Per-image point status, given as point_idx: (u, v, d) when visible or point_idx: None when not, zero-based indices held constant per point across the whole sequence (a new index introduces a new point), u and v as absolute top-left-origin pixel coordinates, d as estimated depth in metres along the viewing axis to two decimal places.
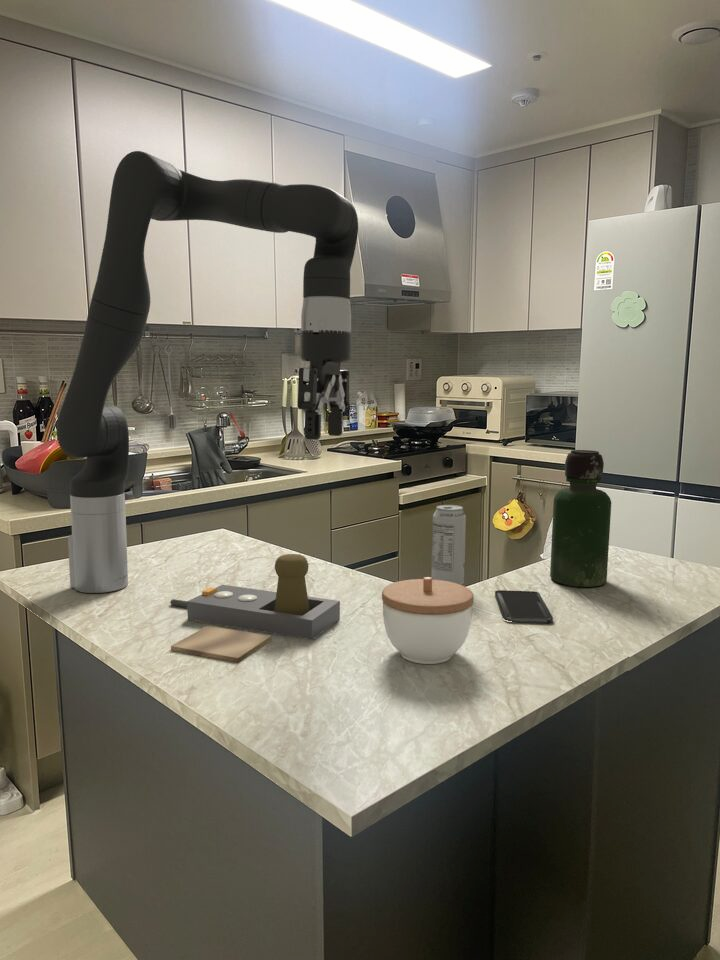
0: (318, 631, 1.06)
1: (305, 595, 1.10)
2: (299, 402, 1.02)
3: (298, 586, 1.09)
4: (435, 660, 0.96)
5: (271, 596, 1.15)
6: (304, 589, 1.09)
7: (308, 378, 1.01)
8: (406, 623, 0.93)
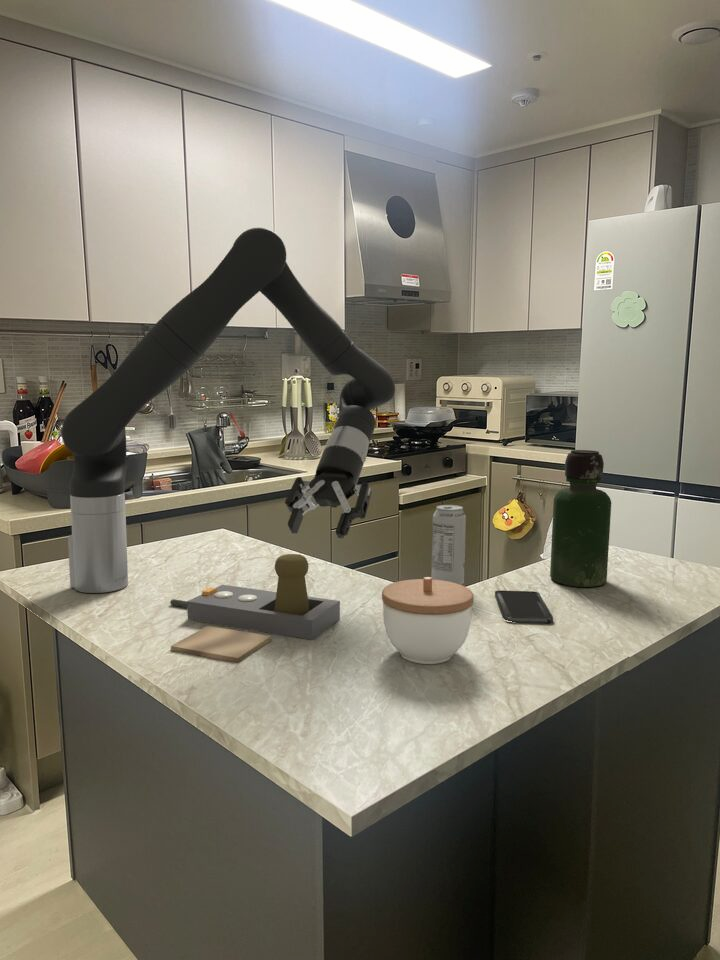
0: (318, 631, 1.06)
1: (305, 595, 1.10)
2: (362, 506, 1.17)
3: (298, 586, 1.09)
4: (435, 660, 0.96)
5: (271, 596, 1.15)
6: (304, 589, 1.09)
7: (369, 494, 1.20)
8: (406, 623, 0.93)
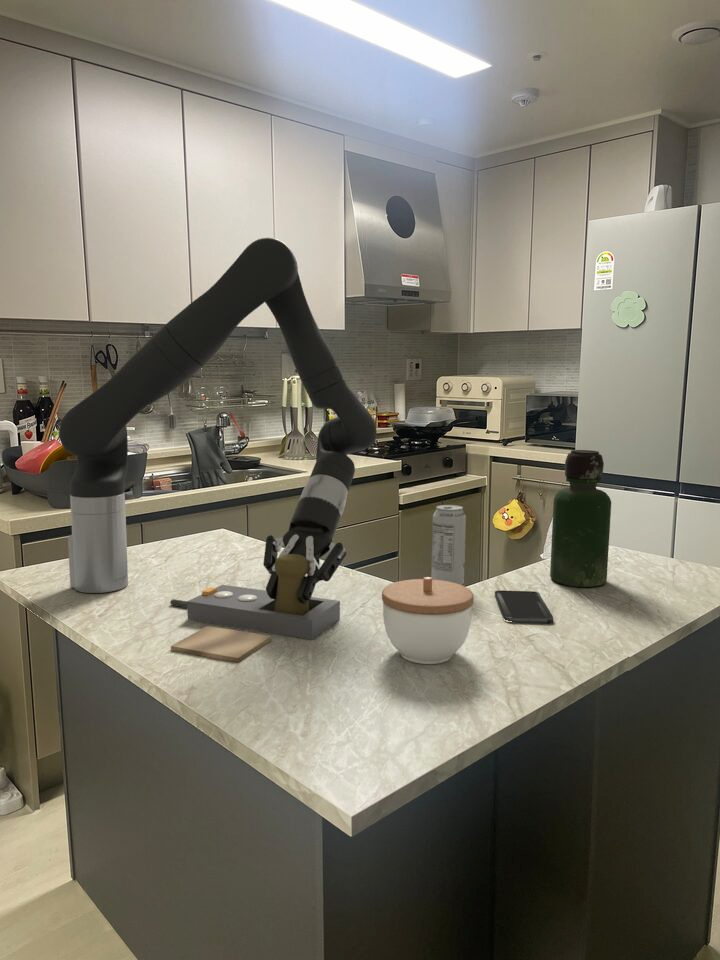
0: (318, 631, 1.06)
1: None
2: (327, 570, 1.09)
3: (298, 586, 1.09)
4: (435, 660, 0.96)
5: None
6: None
7: (341, 557, 1.11)
8: (406, 623, 0.93)
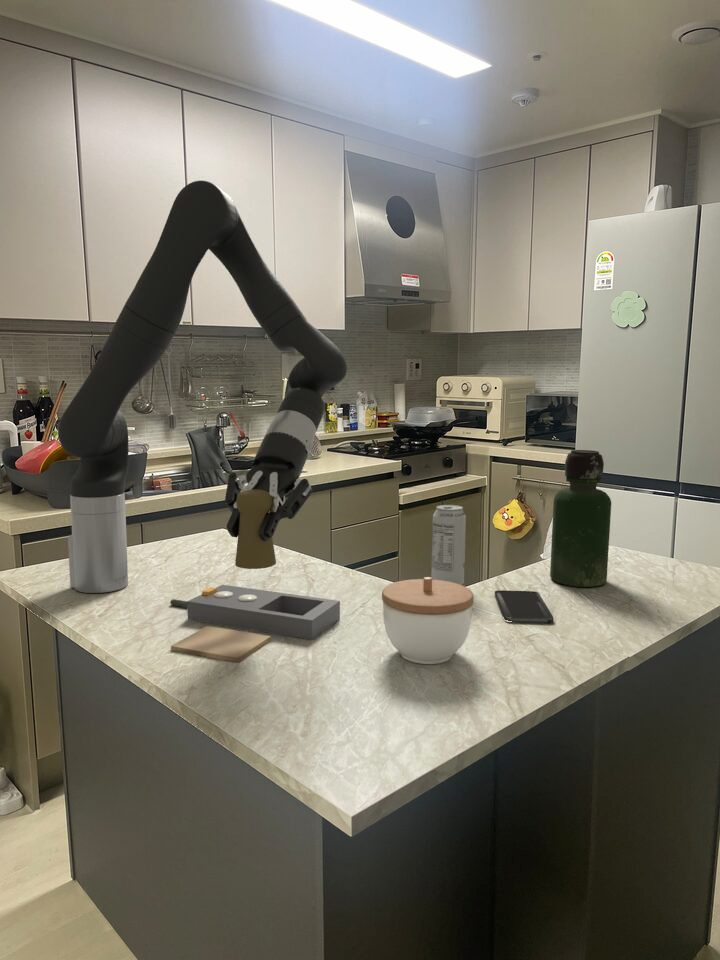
0: (318, 631, 1.06)
1: None
2: (290, 506, 1.03)
3: (261, 522, 1.02)
4: (435, 660, 0.96)
5: (271, 596, 1.15)
6: None
7: (306, 494, 1.05)
8: (406, 623, 0.93)
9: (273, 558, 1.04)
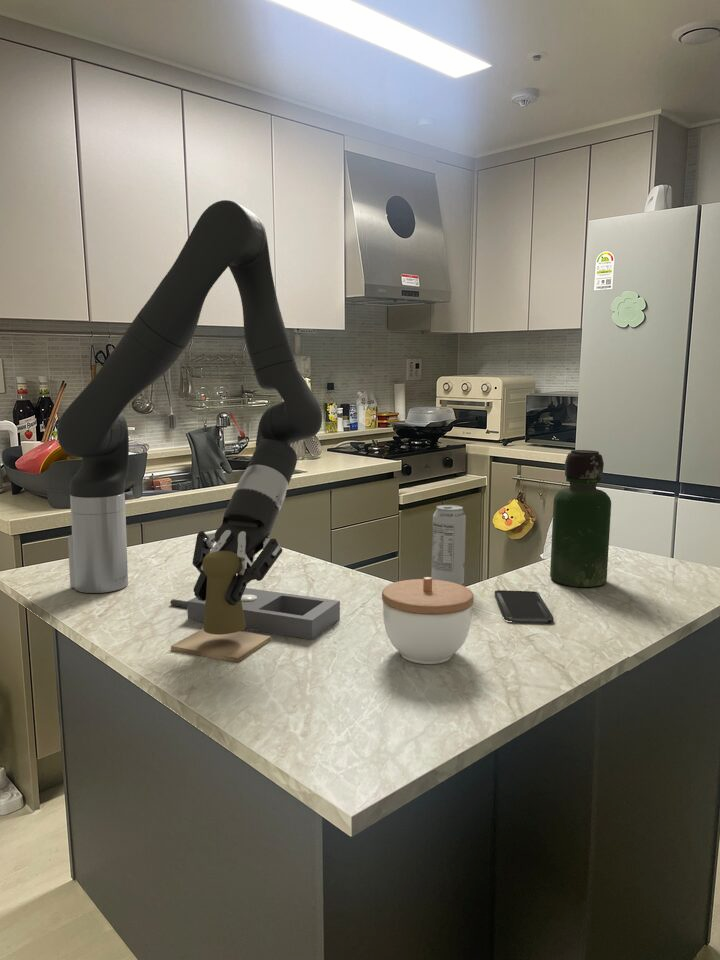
0: (318, 631, 1.06)
1: None
2: (258, 569, 0.99)
3: (228, 586, 0.99)
4: (435, 660, 0.96)
5: (271, 596, 1.15)
6: None
7: (275, 554, 1.02)
8: (406, 623, 0.93)
9: (242, 622, 1.01)
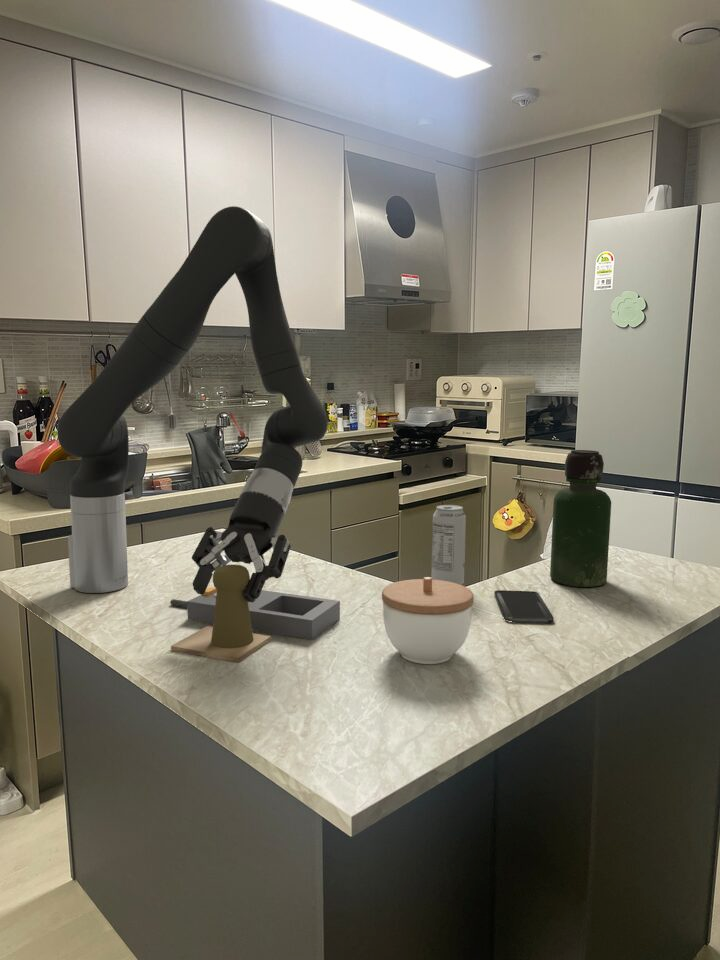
0: (318, 631, 1.06)
1: (246, 609, 1.01)
2: (276, 565, 1.01)
3: (238, 600, 1.00)
4: (435, 660, 0.96)
5: (271, 596, 1.15)
6: (244, 603, 1.00)
7: (286, 549, 1.04)
8: (406, 623, 0.93)
9: (250, 636, 1.01)
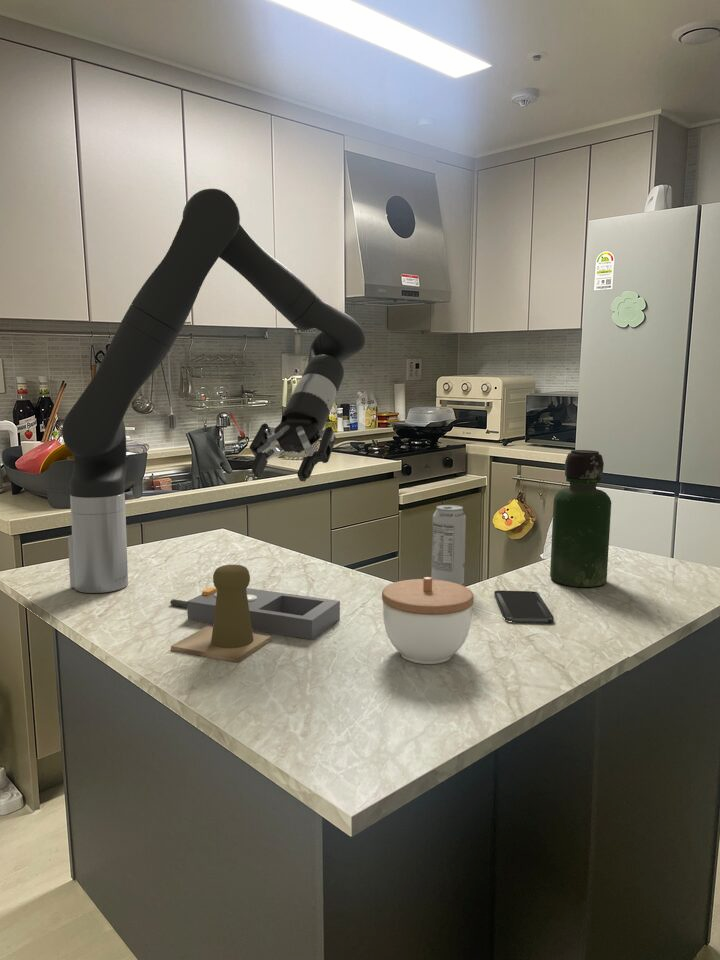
0: (318, 631, 1.06)
1: (246, 610, 1.01)
2: (325, 450, 1.17)
3: (238, 600, 1.00)
4: (435, 660, 0.96)
5: (271, 596, 1.15)
6: (245, 603, 1.00)
7: (332, 439, 1.20)
8: (406, 623, 0.93)
9: (250, 636, 1.01)
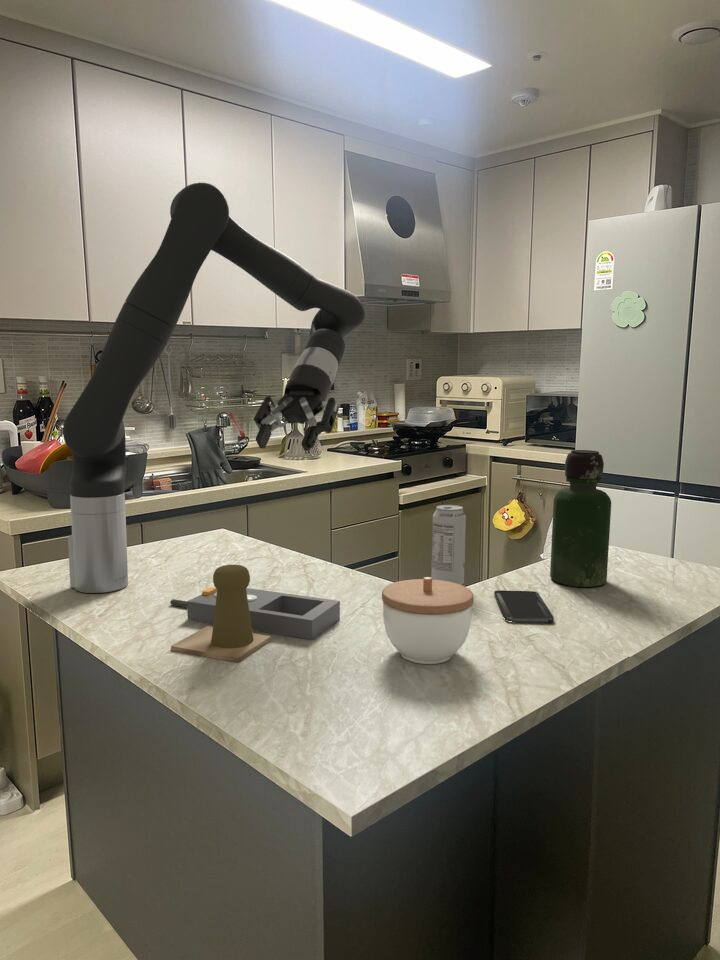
0: (318, 631, 1.06)
1: (246, 610, 1.01)
2: (328, 420, 1.19)
3: (238, 600, 0.99)
4: (435, 660, 0.96)
5: (271, 596, 1.15)
6: (245, 603, 1.00)
7: (335, 410, 1.22)
8: (406, 623, 0.93)
9: (250, 636, 1.01)
